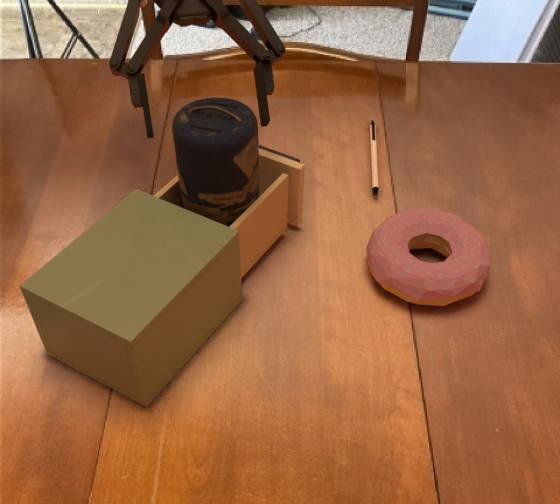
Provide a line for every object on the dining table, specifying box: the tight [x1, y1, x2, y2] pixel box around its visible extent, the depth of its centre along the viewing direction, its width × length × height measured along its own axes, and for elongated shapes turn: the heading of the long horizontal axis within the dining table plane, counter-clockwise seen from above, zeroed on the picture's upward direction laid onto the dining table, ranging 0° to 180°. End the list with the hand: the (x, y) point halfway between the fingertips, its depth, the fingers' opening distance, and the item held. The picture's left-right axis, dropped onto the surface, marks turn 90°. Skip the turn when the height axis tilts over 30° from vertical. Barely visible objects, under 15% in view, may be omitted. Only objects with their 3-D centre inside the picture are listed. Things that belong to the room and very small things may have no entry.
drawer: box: [153, 144, 306, 279], centre depth 86 cm, size 22×13×9 cm, turn 149°
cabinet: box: [19, 188, 243, 408], centre depth 76 cm, size 19×14×11 cm
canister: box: [171, 97, 260, 227], centre depth 80 cm, size 10×10×18 cm
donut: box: [365, 208, 491, 307], centre depth 84 cm, size 16×15×5 cm
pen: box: [369, 119, 380, 198], centre depth 101 cm, size 1×19×1 cm, turn 177°
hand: (208, 129), depth 80 cm, fingers open, 13 cm apart
